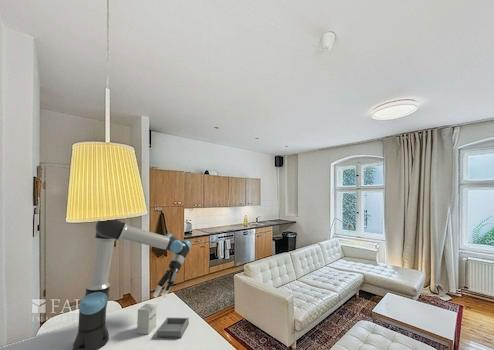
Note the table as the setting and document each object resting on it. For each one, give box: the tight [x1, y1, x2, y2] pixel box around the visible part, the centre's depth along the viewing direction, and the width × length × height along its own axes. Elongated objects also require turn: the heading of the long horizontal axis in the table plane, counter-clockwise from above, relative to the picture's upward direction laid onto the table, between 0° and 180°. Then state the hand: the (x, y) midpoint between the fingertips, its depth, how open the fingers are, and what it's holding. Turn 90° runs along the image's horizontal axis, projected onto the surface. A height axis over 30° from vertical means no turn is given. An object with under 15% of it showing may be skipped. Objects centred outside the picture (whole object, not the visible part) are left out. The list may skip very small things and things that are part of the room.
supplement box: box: [136, 303, 158, 335], centre depth 126 cm, size 7×7×13 cm
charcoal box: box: [156, 317, 190, 339], centre depth 125 cm, size 13×13×4 cm
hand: (158, 296), depth 131 cm, fingers open, 13 cm apart
